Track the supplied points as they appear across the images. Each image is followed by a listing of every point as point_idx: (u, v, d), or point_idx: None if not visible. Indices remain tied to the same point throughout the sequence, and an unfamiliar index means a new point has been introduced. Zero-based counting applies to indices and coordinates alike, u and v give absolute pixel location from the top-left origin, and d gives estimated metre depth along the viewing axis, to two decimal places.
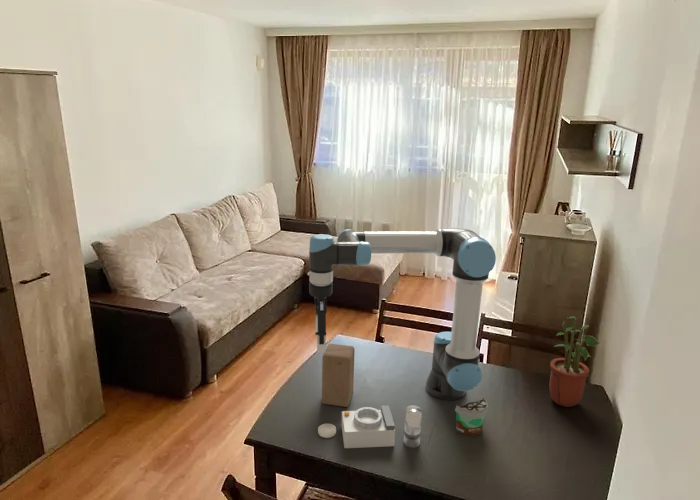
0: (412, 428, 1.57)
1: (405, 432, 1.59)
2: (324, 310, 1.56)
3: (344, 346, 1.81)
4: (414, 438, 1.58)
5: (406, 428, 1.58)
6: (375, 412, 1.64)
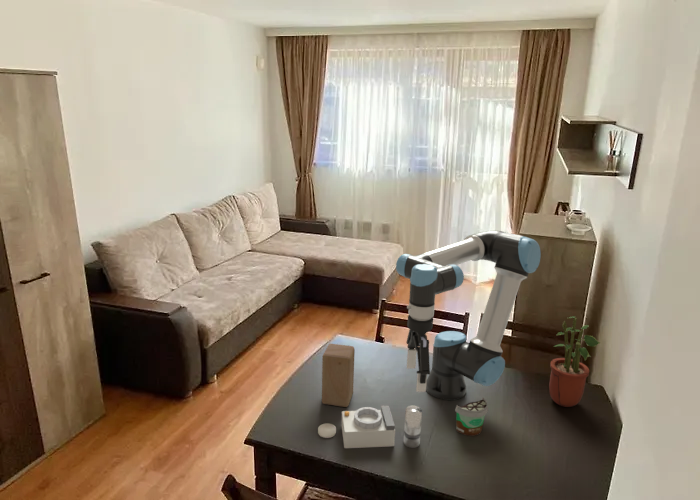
0: (412, 428, 1.57)
1: (405, 432, 1.59)
2: (427, 347, 1.44)
3: (344, 346, 1.81)
4: (414, 438, 1.58)
5: (406, 428, 1.58)
6: (375, 412, 1.64)
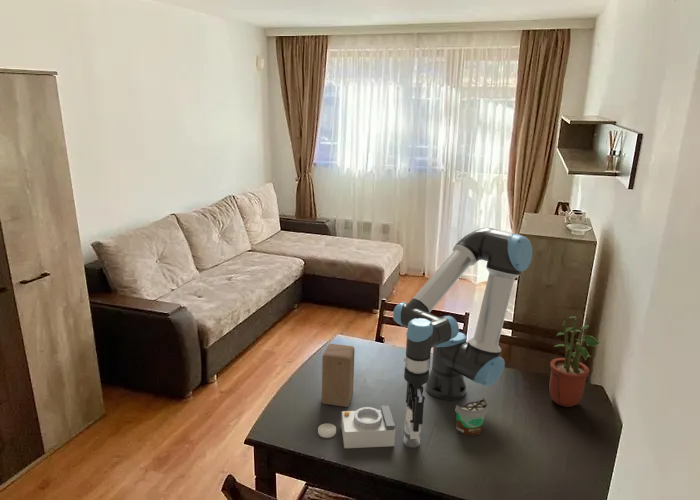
0: None
1: (405, 432, 1.59)
2: (422, 402, 1.50)
3: (344, 346, 1.81)
4: None
5: (406, 428, 1.58)
6: (375, 412, 1.64)
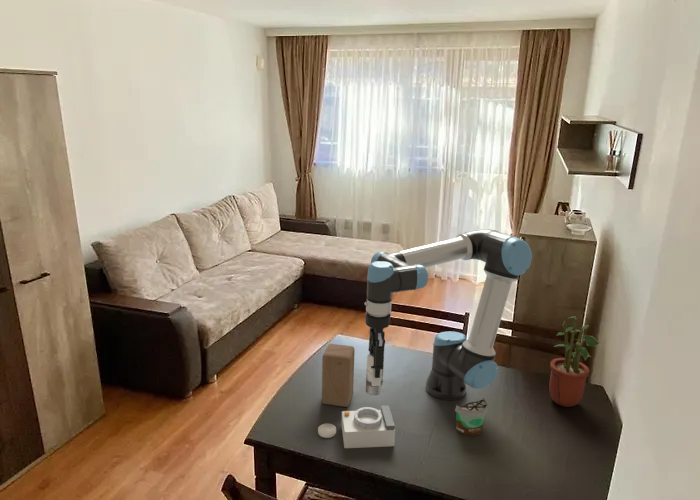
0: None
1: (367, 380, 1.56)
2: (383, 346, 1.47)
3: (344, 346, 1.81)
4: (375, 386, 1.55)
5: (368, 375, 1.55)
6: (375, 412, 1.64)
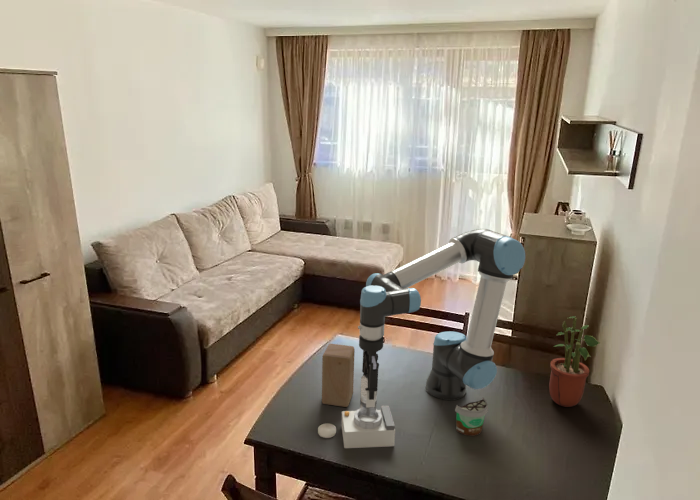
0: None
1: (361, 401, 1.59)
2: (377, 369, 1.50)
3: (344, 346, 1.81)
4: (370, 407, 1.58)
5: (362, 397, 1.58)
6: None
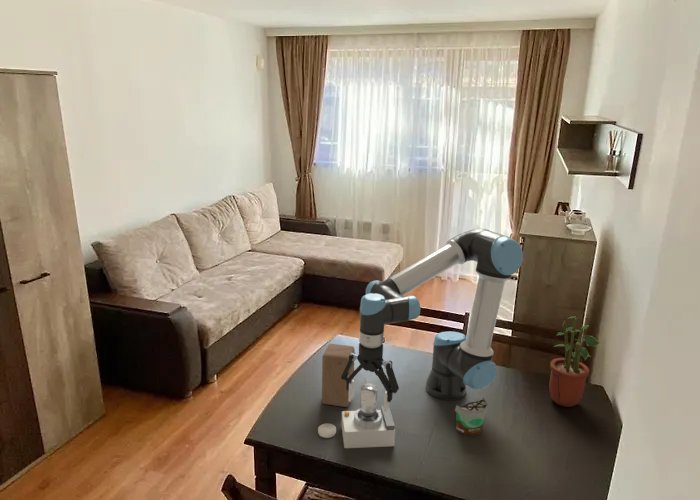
0: (375, 404, 1.58)
1: (367, 413, 1.58)
2: (391, 367, 1.54)
3: (344, 346, 1.81)
4: (375, 413, 1.60)
5: (369, 408, 1.58)
6: None
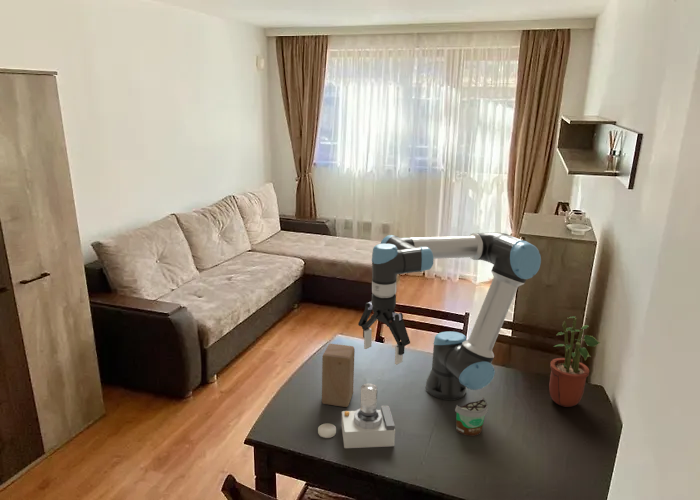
0: (375, 404, 1.58)
1: (367, 413, 1.58)
2: (402, 319, 1.52)
3: (344, 346, 1.81)
4: (375, 413, 1.60)
5: (369, 408, 1.58)
6: None
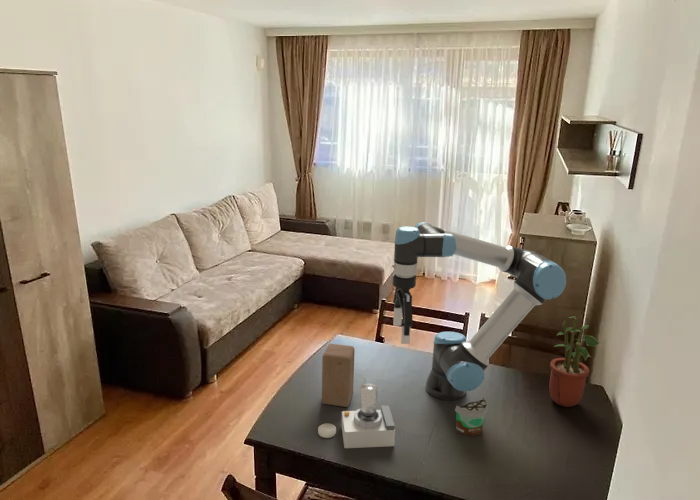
0: (375, 404, 1.58)
1: (367, 413, 1.58)
2: (410, 301, 1.57)
3: (344, 346, 1.81)
4: (375, 413, 1.60)
5: (369, 408, 1.58)
6: None
